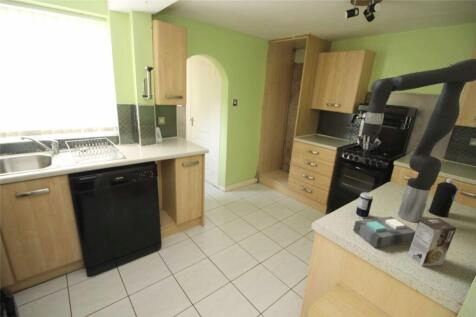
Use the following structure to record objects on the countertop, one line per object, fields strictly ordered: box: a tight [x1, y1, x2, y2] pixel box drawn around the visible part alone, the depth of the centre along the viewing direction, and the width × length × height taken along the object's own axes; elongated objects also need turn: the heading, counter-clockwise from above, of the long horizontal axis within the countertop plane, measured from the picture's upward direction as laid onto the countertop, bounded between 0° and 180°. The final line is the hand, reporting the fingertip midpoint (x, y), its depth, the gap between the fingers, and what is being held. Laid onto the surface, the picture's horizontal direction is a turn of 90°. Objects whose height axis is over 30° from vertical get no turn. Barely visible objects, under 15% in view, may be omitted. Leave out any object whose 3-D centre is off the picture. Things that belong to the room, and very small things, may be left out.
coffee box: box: [407, 217, 457, 267], centre depth 83 cm, size 9×6×16 cm
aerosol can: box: [427, 178, 459, 218], centre depth 118 cm, size 8×8×20 cm
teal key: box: [366, 221, 386, 232], centre depth 96 cm, size 5×5×4 cm
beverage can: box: [355, 191, 374, 219], centre depth 113 cm, size 6×6×12 cm
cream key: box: [385, 218, 406, 229], centre depth 99 cm, size 5×5×4 cm
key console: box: [352, 216, 416, 249], centre depth 98 cm, size 21×12×5 cm, turn 106°
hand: (365, 156), depth 114 cm, fingers closed
